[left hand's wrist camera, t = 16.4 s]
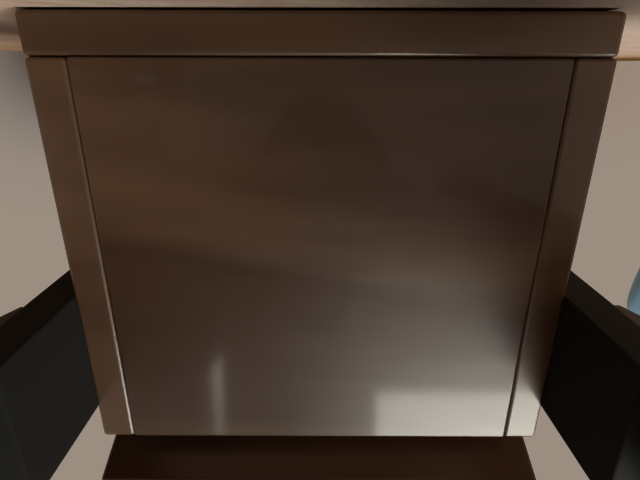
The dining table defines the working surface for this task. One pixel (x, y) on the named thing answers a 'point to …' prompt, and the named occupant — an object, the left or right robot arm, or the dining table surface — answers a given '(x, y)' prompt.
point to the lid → (317, 458)
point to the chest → (320, 210)
